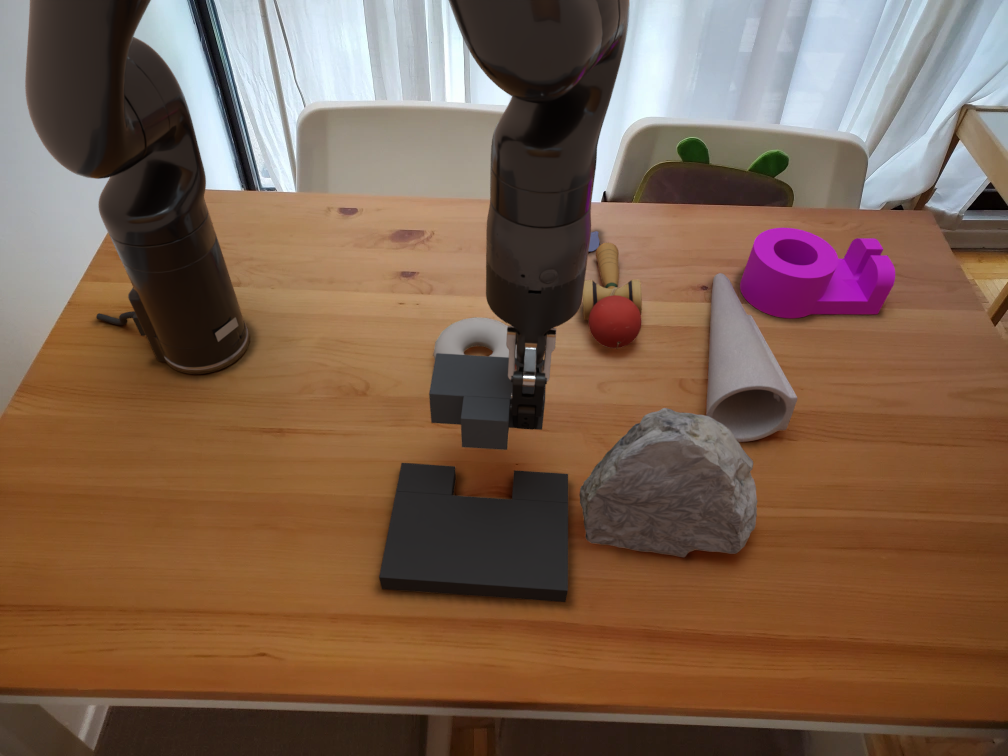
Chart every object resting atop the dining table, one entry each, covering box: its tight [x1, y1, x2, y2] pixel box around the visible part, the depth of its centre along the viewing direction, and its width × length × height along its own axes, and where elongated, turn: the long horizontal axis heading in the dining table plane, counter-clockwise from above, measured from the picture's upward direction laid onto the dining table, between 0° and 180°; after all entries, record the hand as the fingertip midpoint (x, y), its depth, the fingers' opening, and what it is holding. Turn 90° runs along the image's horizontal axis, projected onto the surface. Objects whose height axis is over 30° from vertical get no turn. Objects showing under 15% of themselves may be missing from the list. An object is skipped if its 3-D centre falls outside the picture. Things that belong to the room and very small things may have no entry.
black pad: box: [378, 462, 569, 603], centre depth 66 cm, size 16×12×2 cm
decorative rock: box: [578, 407, 758, 558], centre depth 62 cm, size 16×7×15 cm, turn 82°
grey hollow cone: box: [705, 272, 798, 443], centre depth 82 cm, size 8×9×26 cm
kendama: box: [582, 242, 643, 350], centre depth 87 cm, size 8×6×18 cm
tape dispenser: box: [739, 227, 896, 319], centre depth 89 cm, size 16×10×6 cm, turn 92°
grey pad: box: [428, 353, 547, 451], centre depth 64 cm, size 10×8×4 cm
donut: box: [432, 316, 517, 360], centre depth 80 cm, size 10×3×10 cm
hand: (526, 401), depth 65 cm, fingers closed on grey pad, 5 cm apart
